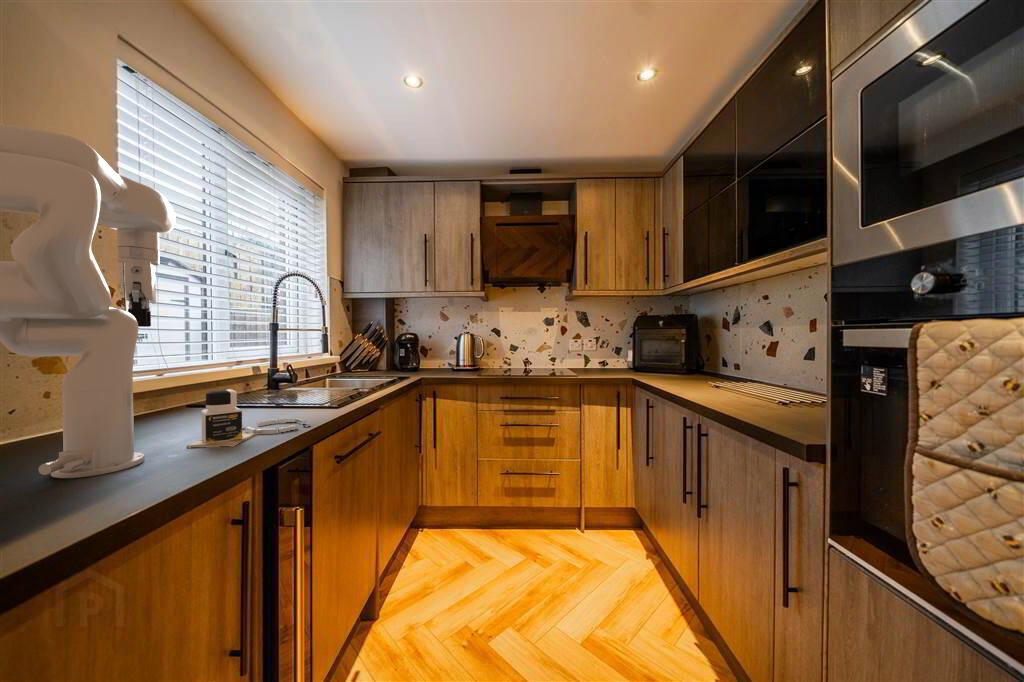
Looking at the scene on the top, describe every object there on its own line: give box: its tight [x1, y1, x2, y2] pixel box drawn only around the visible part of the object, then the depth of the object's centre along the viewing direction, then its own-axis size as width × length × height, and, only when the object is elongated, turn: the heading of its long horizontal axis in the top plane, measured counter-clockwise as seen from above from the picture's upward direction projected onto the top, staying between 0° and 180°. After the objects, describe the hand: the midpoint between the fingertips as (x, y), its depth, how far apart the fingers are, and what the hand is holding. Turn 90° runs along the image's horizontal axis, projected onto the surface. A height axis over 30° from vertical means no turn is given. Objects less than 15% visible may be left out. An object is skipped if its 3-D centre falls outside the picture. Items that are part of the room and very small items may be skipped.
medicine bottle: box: [200, 388, 243, 444], centre depth 95 cm, size 7×7×12 cm
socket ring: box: [242, 417, 311, 436], centre depth 109 cm, size 14×17×1 cm
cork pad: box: [186, 432, 256, 449], centre depth 96 cm, size 10×10×1 cm
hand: (140, 326), depth 97 cm, fingers open, 9 cm apart
